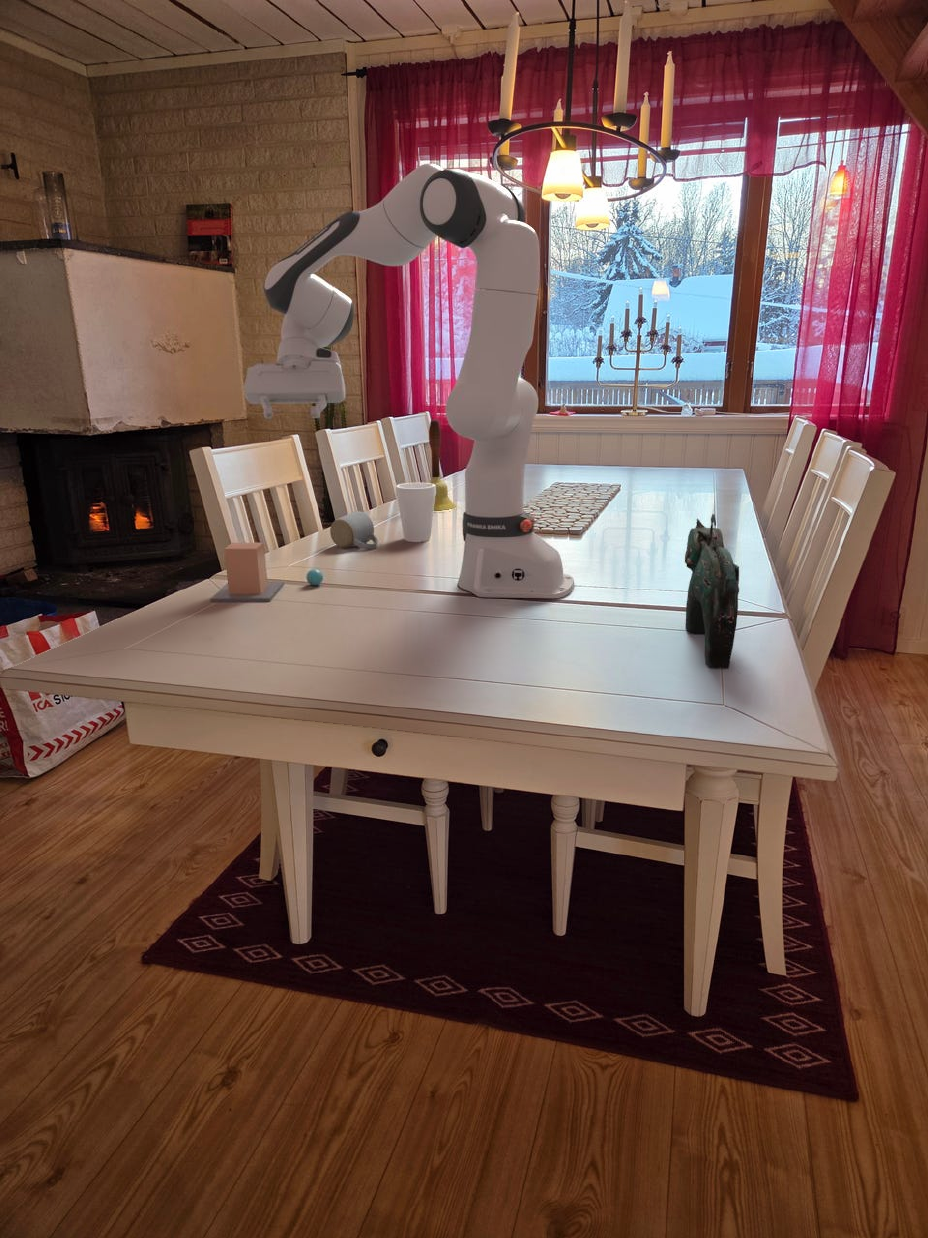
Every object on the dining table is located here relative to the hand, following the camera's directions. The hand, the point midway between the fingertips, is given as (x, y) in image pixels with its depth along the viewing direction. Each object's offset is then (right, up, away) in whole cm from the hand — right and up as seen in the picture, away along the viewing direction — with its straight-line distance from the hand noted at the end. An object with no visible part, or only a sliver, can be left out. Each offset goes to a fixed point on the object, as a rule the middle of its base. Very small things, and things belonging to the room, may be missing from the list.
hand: (291, 416), depth 157 cm
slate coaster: (-7, -35, -6) cm, 36 cm away
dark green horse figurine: (+72, -45, -36) cm, 92 cm away
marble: (+5, -34, -2) cm, 34 cm away
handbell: (+26, -8, +73) cm, 79 cm away
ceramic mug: (+9, -23, +30) cm, 39 cm away
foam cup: (+23, -21, +36) cm, 48 cm away
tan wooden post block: (-7, -35, -6) cm, 36 cm away
